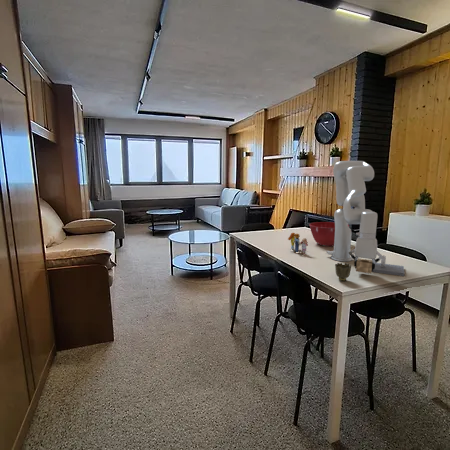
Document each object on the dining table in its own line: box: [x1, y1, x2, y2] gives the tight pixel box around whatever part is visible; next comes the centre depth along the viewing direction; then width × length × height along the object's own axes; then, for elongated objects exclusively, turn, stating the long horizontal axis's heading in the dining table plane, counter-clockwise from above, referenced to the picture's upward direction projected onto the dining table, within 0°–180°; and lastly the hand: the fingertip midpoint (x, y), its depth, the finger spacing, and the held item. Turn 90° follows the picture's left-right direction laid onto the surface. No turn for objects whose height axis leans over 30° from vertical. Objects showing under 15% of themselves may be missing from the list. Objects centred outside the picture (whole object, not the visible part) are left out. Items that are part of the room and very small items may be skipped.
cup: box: [334, 262, 352, 282], centre depth 143 cm, size 8×7×8 cm
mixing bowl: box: [309, 221, 350, 247], centre depth 219 cm, size 28×28×16 cm
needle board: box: [371, 255, 405, 277], centre depth 160 cm, size 20×14×8 cm
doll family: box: [287, 232, 309, 255], centre depth 198 cm, size 21×10×13 cm, turn 7°
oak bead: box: [355, 257, 373, 274], centre depth 150 cm, size 7×7×5 cm
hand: (364, 268), depth 151 cm, fingers closed on oak bead, 7 cm apart
